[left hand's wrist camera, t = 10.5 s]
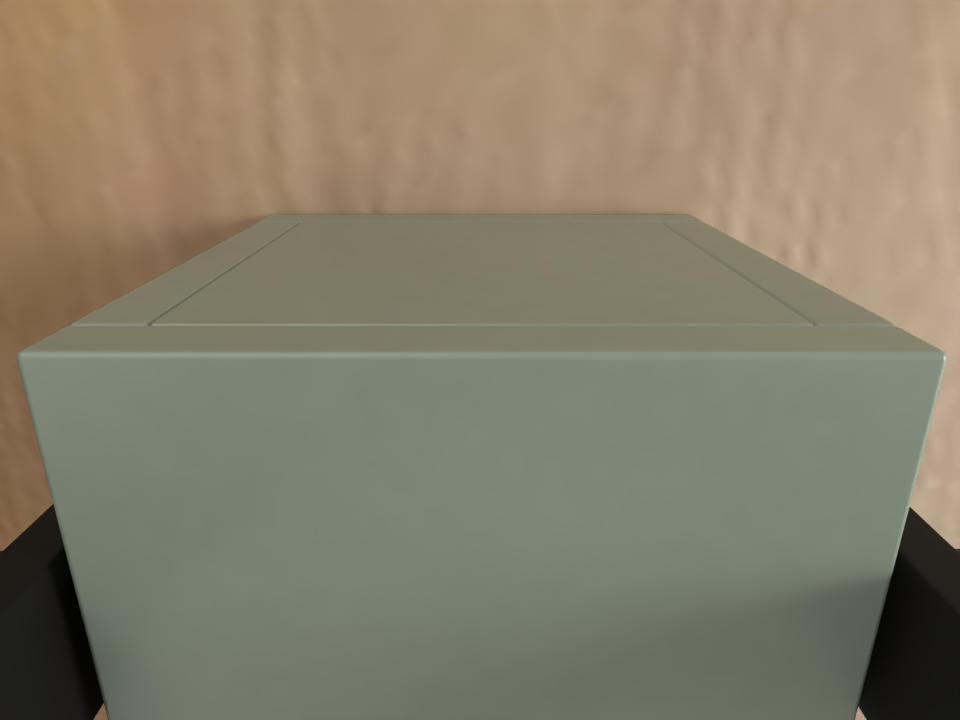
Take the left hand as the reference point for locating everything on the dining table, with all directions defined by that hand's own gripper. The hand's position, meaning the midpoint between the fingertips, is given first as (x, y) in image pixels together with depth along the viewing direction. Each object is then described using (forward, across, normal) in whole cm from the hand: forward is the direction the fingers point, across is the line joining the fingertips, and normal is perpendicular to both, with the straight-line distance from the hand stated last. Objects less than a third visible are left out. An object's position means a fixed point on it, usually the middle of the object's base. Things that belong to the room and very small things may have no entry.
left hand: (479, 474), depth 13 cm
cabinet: (+5, 0, -6) cm, 8 cm away
